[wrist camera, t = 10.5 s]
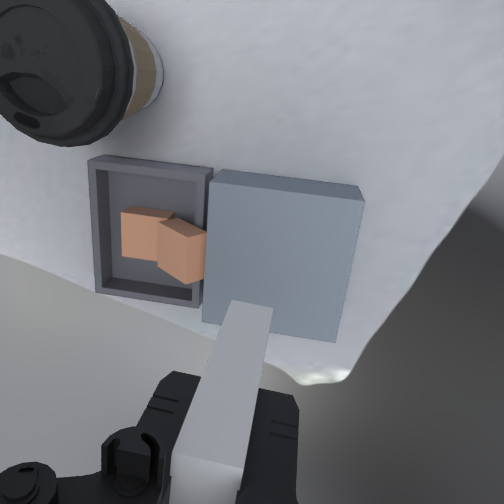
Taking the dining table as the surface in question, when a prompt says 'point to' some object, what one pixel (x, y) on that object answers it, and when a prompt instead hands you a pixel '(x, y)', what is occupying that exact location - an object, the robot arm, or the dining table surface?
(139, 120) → the dining table surface
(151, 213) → the tile rear
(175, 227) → the tile front
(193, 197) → the box
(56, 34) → the coffee cup
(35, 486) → the robot arm
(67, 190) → the dining table surface
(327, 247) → the blue-grey square block
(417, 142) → the dining table surface
